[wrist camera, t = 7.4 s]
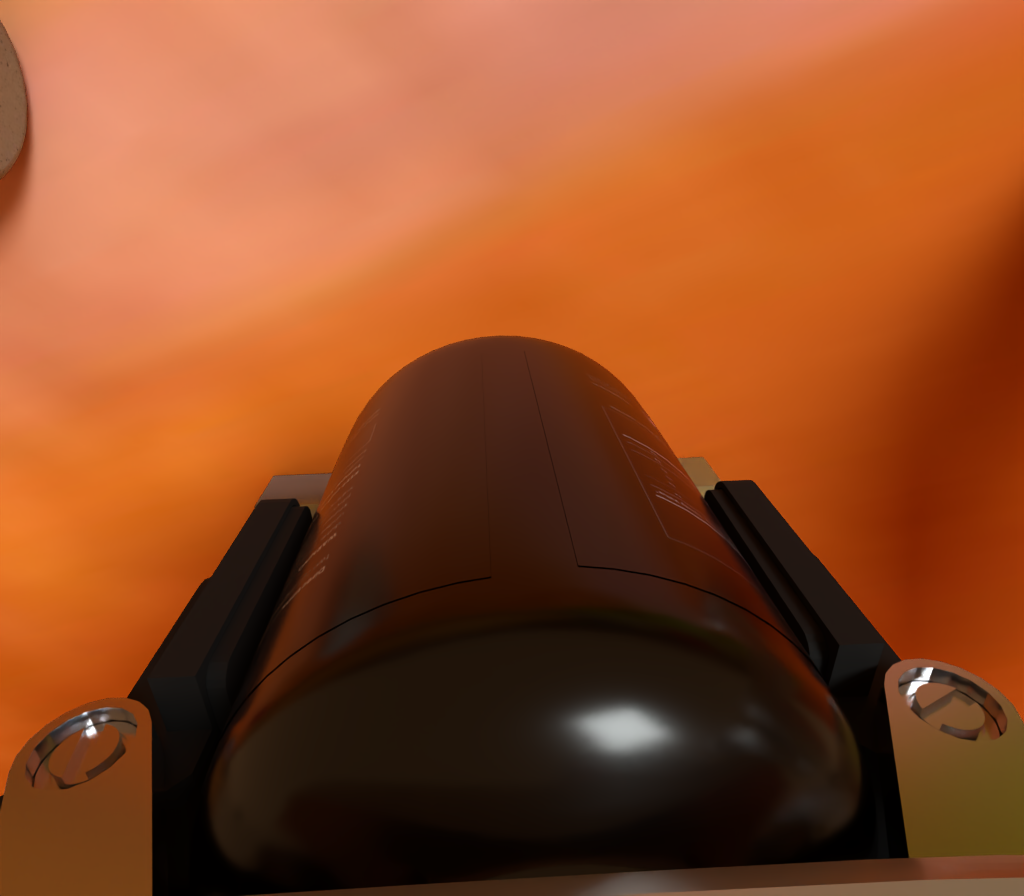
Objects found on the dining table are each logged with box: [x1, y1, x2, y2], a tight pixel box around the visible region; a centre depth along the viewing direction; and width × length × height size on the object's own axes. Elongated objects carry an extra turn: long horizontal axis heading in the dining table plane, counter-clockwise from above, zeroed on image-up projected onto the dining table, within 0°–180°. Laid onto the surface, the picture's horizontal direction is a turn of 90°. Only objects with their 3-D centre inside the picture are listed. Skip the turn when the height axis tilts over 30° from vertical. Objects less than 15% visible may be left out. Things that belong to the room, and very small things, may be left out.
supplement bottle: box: [189, 336, 878, 896], centre depth 8 cm, size 7×7×12 cm
